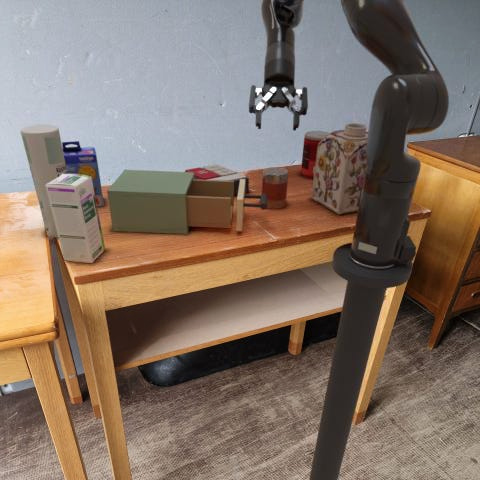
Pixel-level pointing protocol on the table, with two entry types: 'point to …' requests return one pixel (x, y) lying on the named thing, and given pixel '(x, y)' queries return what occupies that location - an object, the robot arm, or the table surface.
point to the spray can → (44, 165)
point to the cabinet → (150, 201)
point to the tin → (275, 186)
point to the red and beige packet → (220, 175)
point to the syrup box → (76, 217)
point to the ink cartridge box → (84, 165)
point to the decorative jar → (341, 169)
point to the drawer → (218, 203)
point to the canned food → (311, 152)
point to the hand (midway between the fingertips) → (277, 128)
